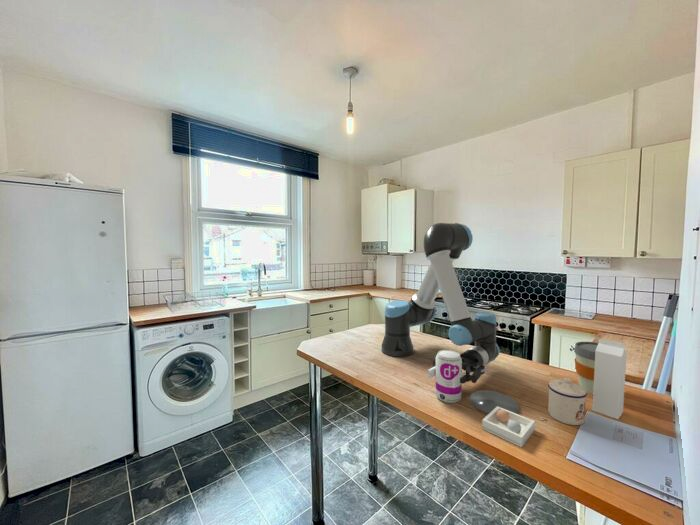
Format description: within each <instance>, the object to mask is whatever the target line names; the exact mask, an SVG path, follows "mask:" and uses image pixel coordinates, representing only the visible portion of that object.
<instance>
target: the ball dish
mask: <svg viewBox="0 0 700 525" xmlns="http://www.w3.org/2000/svg"><path fill="white" fill-rule="evenodd" d="M499 410H505V411H507V412H508V414H509V420H508V421H507V422H502V421H500V420H499V419H498V417H497V412H498V411H499ZM511 420H515V421H517V422H518V423H519V424H520V426H521V431H520V433H518V434H517V433H515V432H512V431H510V430H509V429H508V422H509V421H511ZM481 425H482V428H481V429H482V430H484V431H486V432H488V433H490V434H493V435H494V436H496V437H499V438H500V439H503V440H505V441H507V442H509V443H511V444H514V445H515V446H518V447H520V448H522V447H523V446H524V445H525V444H526V442H527V441H528V440H529V438H530V437H531V436H532V434H533V433H534V432H535V430H536V429H535V428H536V426H535V425H536V420H533V419H530V418H528V417H526V416H523V415H520V414H519V413H518V414H516V413H513V412H511V411H508V410H506V409H503V408H501V407H498V406H497V407H496V408H495V409H494V410H492V411H491V412H490V413H489V414H486V416H485V417H484V418H482V421H481Z"/></svg>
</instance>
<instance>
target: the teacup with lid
mask: <svg viewBox="0 0 700 525" xmlns="http://www.w3.org/2000/svg"><path fill="white" fill-rule="evenodd" d="M547 386H548V407H547V408H548V410H547V412H548V414H549V415H550V416H551V417H552V418H553V419H555V420H556V421H558V422H560V423H563V424H566V425H570V426H580V425H583V424H584V423H585V416H586V414H585V412H586V397H587V395H588V394H587V393H588V392H586V391H585V389H584V388H582V387H581V386H579V384H577V383H574V382H573V380H572V379H571V378H569V377H563V379H553V380H550V381H549V383H548V385H547Z"/></svg>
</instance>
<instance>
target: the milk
mask: <svg viewBox="0 0 700 525" xmlns="http://www.w3.org/2000/svg"><path fill="white" fill-rule="evenodd" d="M597 343H598V346H597V348H596V351H595V370H594V389H593V394H592V395H593V396H592V411H594V412H596V413H599V414H601V415H604V416H607V417H609V418H613V419H615V420H619V419H620V417H621V415H622V414H623V412H624V400H625V385H626V383H625V382H626V368H627V366H626V365H627V353H628V352H627V350H626V345H625V343H623V342H619V341H615V340H608V339H605V338H604V339H603V338H598V342H597Z"/></svg>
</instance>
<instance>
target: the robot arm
mask: <svg viewBox="0 0 700 525" xmlns="http://www.w3.org/2000/svg"><path fill="white" fill-rule="evenodd" d="M473 240H474V239H473V234H472V231H471V229H470V228H469V227H468V226H467V225H466V224H463V223H459V222H456V223H455V222H454V223H452V222H451V223H449V222H437V223H434V224H432V225H431V226H429V228H427V230H426V232H425V234H424V237H423V250H424V253H425V254H424V255H425V257H426V260H428V261H430V264H429V266H428V269H427V270H426V272H425V274H424V276H423V279H422V282H421V284H420V286H419V288H418V291H417V293H413V295H412V296H411V299H410V300H409V301H408V300H405V299H404V300H403V299H401V300H400V299H399V300H396V299H395V300H392V301H389V302H387V303H386V305H385V308H384V337H383V340H382V344H381V352H382V353H383V354H385V355H387V356H390V357H397V358H398V357H400V358H402V357H407V356H411V355H412V354H414V352H415V351H414V349H415V348H414V345H413V340H412V338H411V328H412V327H416V326H421V325H425V324H428V323H430V322H432V321H433V320H434V319H435V317H436V315H437V314H436V313H437V312H436V303H435V299H436V297H437V296H438V293H439V292H440V295H441V297H442V301H443V302H444V306H445V310H446V312H447V315H448V318H449V321H450V324H451V326H450V327H449V329H448V338H449V340H450V341H451V343H452V344H453V345H456V346H459V347H462V346H468V345H469V344H470V345H471V344H472V343H474V346H472V347H470V348H469V349H467V350H465V351H462V352H461V354H460V357H461V359H462V371H465V372H462V373H461V374H460V375H458V376H456V377H455V378H453V379H452V387H453V388H456V387H457V386H459V385H460V384H466V383H469V382H471V383H473V384H476V382H478V380H479V379H480V377H482V375H484V374H485V372H486V371H485V370H486V368H485V367H486V365H489V363H491V362H492V361H495V360H496V359H497V358H498V357H499V355H500V352H501V350H500V347H499V345H498V343H497V325H498V324H497V316H496V315H495V314H494V313H492V312H485V311H478V312H476V314H475V316H474V319H472V317H471V314H470V312H469V308H468V305H467V302H466V300H465V297H464V294H463V291H462V287H461V285H460V283H459V280H458V279H459V278H458V276H457V274H456V270H455V268H454V265H453V263H454V261H455V260H458V259H459V258H460V257H461V254H462V252H463V251H465V250H469V248H470V247H472V243H473ZM433 377H436V359H435V360H433V361H432V366H431V367H430V368H428V369H427V379H431V378H433Z"/></svg>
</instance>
